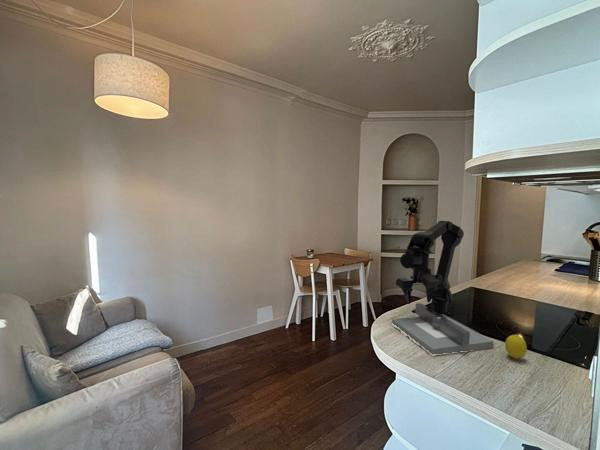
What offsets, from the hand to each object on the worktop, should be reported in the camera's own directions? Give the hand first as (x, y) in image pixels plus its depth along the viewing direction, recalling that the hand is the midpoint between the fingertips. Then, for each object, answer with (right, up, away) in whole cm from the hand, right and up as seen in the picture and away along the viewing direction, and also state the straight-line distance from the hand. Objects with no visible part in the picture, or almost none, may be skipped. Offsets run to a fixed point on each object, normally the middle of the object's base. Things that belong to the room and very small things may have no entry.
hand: (418, 303), depth 120 cm
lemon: (+20, -11, -26) cm, 35 cm away
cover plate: (+3, -9, -11) cm, 15 cm away
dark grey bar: (+3, -6, -11) cm, 13 cm away
